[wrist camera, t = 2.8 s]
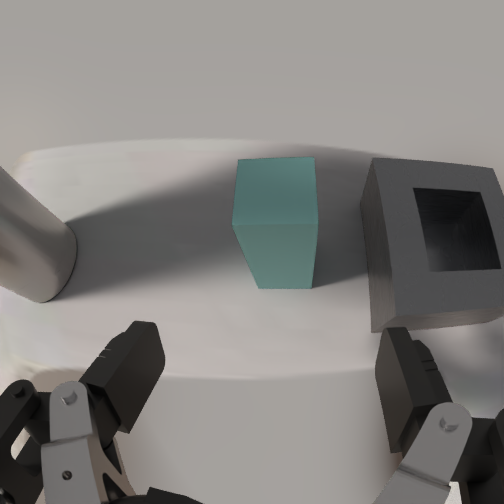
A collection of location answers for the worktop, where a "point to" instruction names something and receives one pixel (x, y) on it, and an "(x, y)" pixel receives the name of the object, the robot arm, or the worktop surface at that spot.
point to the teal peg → (277, 220)
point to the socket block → (433, 244)
